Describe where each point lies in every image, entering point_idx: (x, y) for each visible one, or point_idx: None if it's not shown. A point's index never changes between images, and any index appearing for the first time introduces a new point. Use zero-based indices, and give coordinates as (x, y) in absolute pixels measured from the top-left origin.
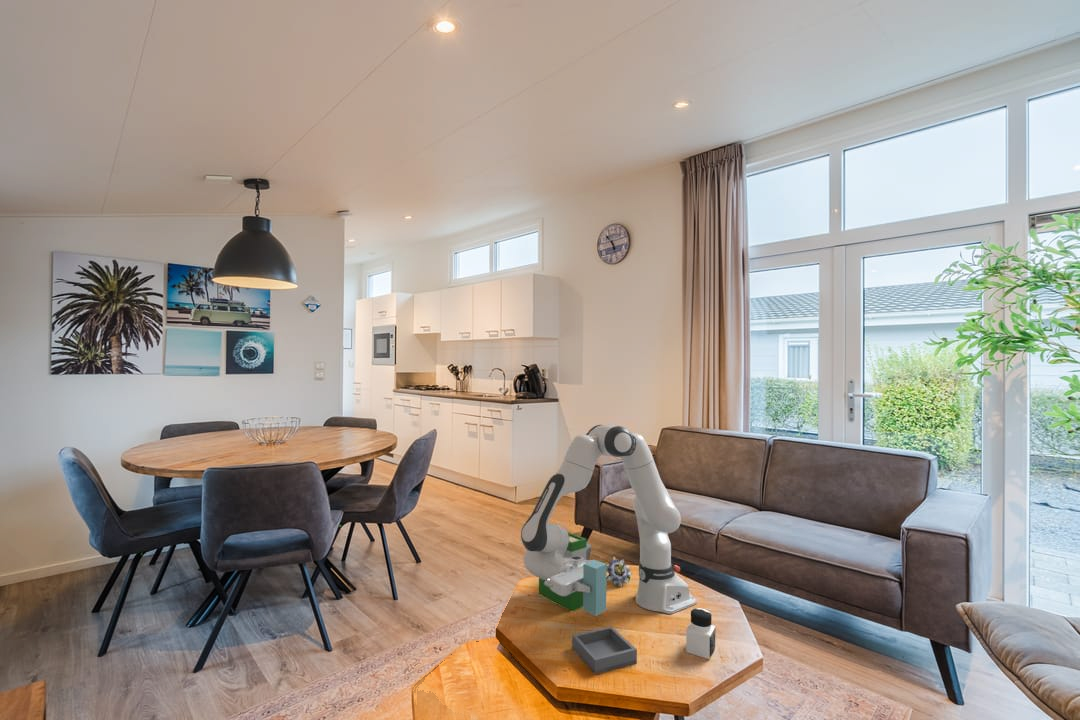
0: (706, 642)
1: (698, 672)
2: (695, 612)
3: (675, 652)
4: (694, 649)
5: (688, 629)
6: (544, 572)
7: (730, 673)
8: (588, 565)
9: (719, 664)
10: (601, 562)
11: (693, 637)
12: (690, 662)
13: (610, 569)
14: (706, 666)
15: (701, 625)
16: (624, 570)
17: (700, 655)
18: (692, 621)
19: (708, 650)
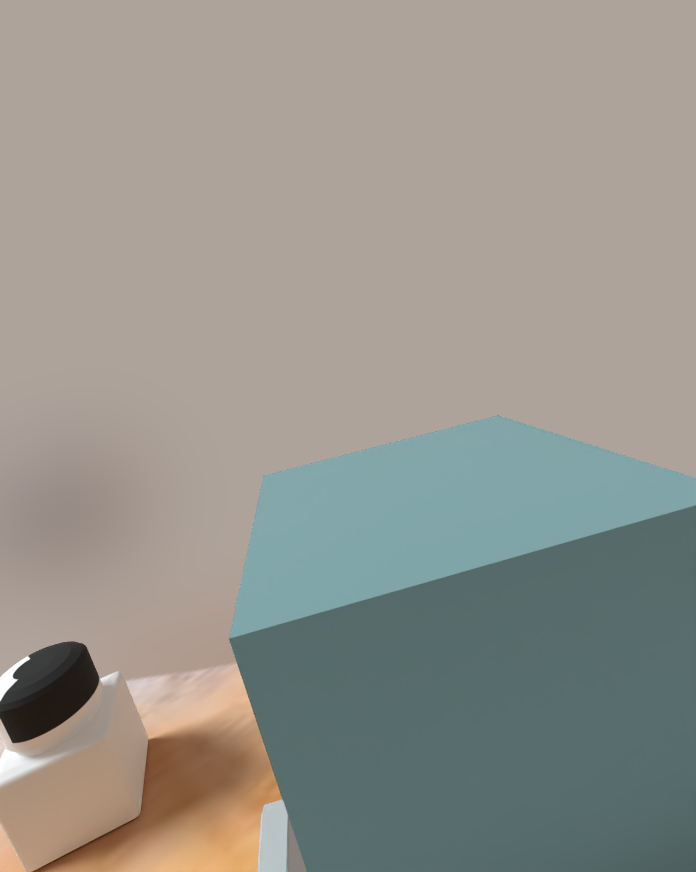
0: (128, 699)
1: (242, 706)
2: (54, 667)
3: (163, 844)
4: (136, 767)
5: (105, 729)
6: None
7: (189, 672)
8: (593, 452)
9: (159, 710)
10: (263, 507)
11: (120, 732)
12: (202, 757)
13: None
14: (194, 718)
15: (96, 672)
16: None
17: (145, 759)
18: (78, 701)
19: (138, 715)
